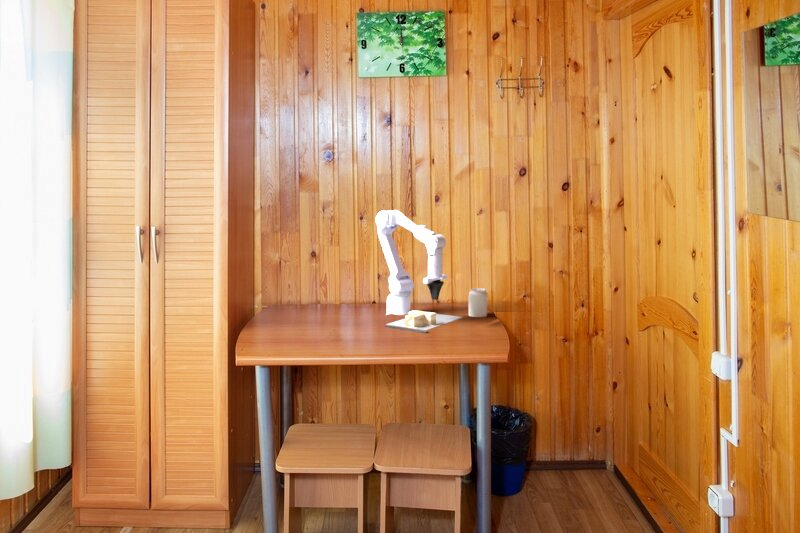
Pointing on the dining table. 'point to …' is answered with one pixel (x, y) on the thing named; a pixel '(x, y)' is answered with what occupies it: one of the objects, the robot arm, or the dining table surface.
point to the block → (419, 318)
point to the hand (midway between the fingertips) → (434, 299)
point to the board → (440, 320)
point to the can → (478, 302)
